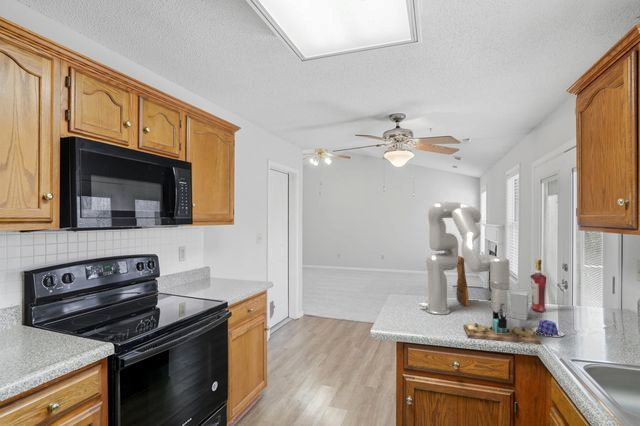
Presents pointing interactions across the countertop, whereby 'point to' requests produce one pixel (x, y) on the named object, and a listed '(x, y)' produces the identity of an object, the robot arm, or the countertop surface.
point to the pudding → (547, 328)
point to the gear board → (501, 334)
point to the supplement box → (519, 305)
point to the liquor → (538, 289)
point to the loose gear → (496, 328)
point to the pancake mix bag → (461, 283)
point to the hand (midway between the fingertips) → (499, 324)
